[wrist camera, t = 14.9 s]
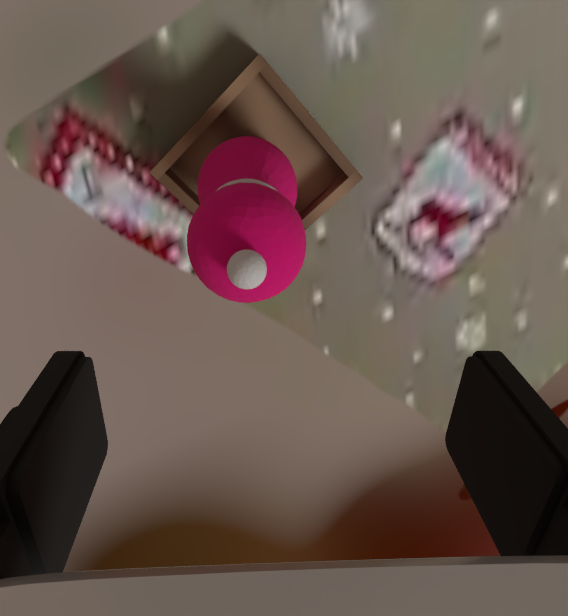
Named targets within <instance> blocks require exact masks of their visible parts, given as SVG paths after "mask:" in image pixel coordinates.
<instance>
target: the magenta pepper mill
mask: <svg viewBox="0 0 568 616" xmlns="http://www.w3.org/2000/svg"><path fill="white" fill-rule="evenodd" d="M198 197H199V202H200V205H199V207H198V208H197V210H196V211H195V213H194V214H193V217H192V219H191V222H190V225H189V228H188V234H187V247H188V255H189V259H190V262H191V264H192V267H193V269H194V271H195V273H196V274H197V276H198V277H199V279H200V280H201V281H202V282H203V283H204V285H206V287H207V288H209V289H210V290H211V291H213V292H214V293H216V294H217V295H219V296H221V297H223V298H225V299H228V300H231V301H236V302H245V303H251V302H257V301H262V300H265V299H269V298H271V297H273V296H275V295H277V294H279V293H280V292H282V291H283V290H285V289H286V288H287V287H288V286H289V285H290V284H291V283H292V281H293V280H294V279H295V278H296V276H297V275H298V273H299V271H300V269H301V267H302V265H303V261H304V258H305V251H306V234H305V229H304V226H303V223H302V220H301V217H300V215H299V214H298V212H297V210H296V209H295V208H294V207H295V204H296V199H297V181H296V175H295V172H294V169H293V167H292V165H291V163H290V161H289V159H288V158H287V157H286V155H285V154H284V153H283V152H282V151H281V150H280V149H279V148H278V147H276V146H275V145H273V144H272V143H270V142H268V141H266V140H264V139H260V138H257V137H252V136H241V137H236V138H233V139H229V140H227V141H225V142H223V143H221V144H220V145H218V146H217V147H215V148H214V149H213V150H212V151H211V152H210V153H209V155H208V156H207V158H206V159H205V160H204V162H203V164H202V167H201V169H200V173H199V177H198Z"/></svg>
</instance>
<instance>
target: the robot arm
mask: <svg viewBox="0 0 568 616" xmlns="http://www.w3.org/2000/svg"><path fill="white" fill-rule="evenodd" d="M445 441H446V447H447V449H448V452H449V454H450V456H451V458H452V460H453V462H454V464H455V466H456V468H457V469H458V472H459V474H460V476H461V478H462V480H463V482H464V484H465V486H466V488H467V490H468V492H469V494H470V496H471V498H472V500H473V502H474V504H475V505H476V507H477V509H478V511H479V513H480V515H481V517H482V519H483V521H484V523H485V525H486V527H487V529H488V531H489V533H490V535H491V537H492V539H493V541H494V543H495V545H496V547H497V549H498V551H499V553H500V555H501V556H486V557H450V558H416V559H415V558H414V559H381V560H380V559H379V560H349V561H319V562H293V563H291V562H290V563H262V564H235V565H211V566H184V567H159V568H134V569H116V570H98V571H80V572H64V573H63V569H64V567H65V564H66V562H67V559H68V556H69V553H70V551H71V548H72V546H73V543H74V540H75V537H76V534H77V532H78V529H79V527H80V524H81V521H82V519H83V516H84V513H85V511H86V508H87V505H88V503H89V500H90V497H91V494H92V492H93V489H94V486H95V484H96V481H97V478H98V476H99V473H100V470H101V468H102V465H103V462H104V460H105V457H106V454H107V448H108V440H107V435H106V429H105V424H104V419H103V413H102V408H101V403H100V398H99V392H98V387H97V382H96V377H95V371H94V366H93V361H92V359H91V358H90V357H85V355H84V353H83V352H81V351H57V352H55V353H54V354H53V356H52V357H51V359H50V360H49V362H48V363H47V365H46V366H45V368H44V369H43V370H42V372H41V373H40V375H39V376H38V378H37V379H36V381H35V382H34V384H33V385H32V387H31V388H30V389H29V391H28V392H27V394H26V395H25V397H24V398H23V400H22V401H21V403H20V404H19V406H17V407H15V408H13V409H12V410H11V411H10V412H9V413H8V414H7V415H6V417H5V418H4V420H3V421H2V423H1V424H0V616H568V429H567V427H566V426H565V425H564V424H563V423H562V421H561V420H560V419H559V418H558V417H557V416H556V415H555V413H554V412H553V411H552V410H551V409H550V408H549V406H548V405H547V404H546V403H545V402H544V401H543V400H542V399H541V397H540V396H539V395H538V394H537V392H536V391H535V390H534V389H533V388H532V387H531V386H530V384H529V383H528V382H527V381H526V380H525V379H524V377H523V376H522V375H521V374H520V373H519V372H518V370H517V369H516V368H515V367H514V366H513V365H512V364H511V362H510V361H509V360H508V359H507V358H506V357H505V355H504V354H503V353H502V352H500V351H476V352H475V353H474V354H473V356H472V357H468V358H467V360H466V362H465V366H464V370H463V373H462V377H461V381H460V384H459V388H458V392H457V395H456V399H455V403H454V407H453V410H452V414H451V418H450V421H449V425H448V429H447V432H446V438H445Z"/></svg>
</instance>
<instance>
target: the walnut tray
mask: <svg viewBox="0 0 568 616" xmlns="http://www.w3.org/2000/svg"><path fill="white" fill-rule="evenodd" d="M241 136H252V137H257V138H260V139H264V140H266V141H268V142H270V143H272V144H273V145H275V146H276V147H278V148H279V149H280V150H281V151H282V152H283V153H284V154H285V155H286V157H287V158H288V159H289V161H290V163H291V165H292V167H293V169H294V172H295V175H296V181H297V199H296V204H295V207H294V208H295V209H296V210H297V212H298V214H299V215H300V217H301V220H302V223H303V226H304V229H305V230H306V229H307V228H308V227H309V226H310V225H311V224H312V223H314V222H315V221H316V220H317V219H318V218H319V217H320V216H321V215H322V214H324V213H325V212H326V211H327V210H328V209H329V208H330V207H331V206H332V205H334V204H335V203H336V202H337V201H338V200H339V199H340V198H341V197H342V196H344V195H345V194H346V193H347V192H348V191H349V190H350V189H351V188H352V187H354V186H355V185H356V184H357V183H358V182H359V181H360V180H361V179H362V178H363V177H362V176H361V175H360V174H359V172H358V171H357V170H356V169H355V168H354V166H353V165H352V164H351V163H350V162H349V160H348V159H347V158H346V157H345V156H344V154H343V153H342V152H341V151H340V150H339V148H338V147H337V146H336V145H335V144H334V142H333V141H332V140H331V139H330V138H329V136H328V135H327V134H326V133H325V131H324V130H323V129H322V128H321V127H320V125H319V124H318V123H317V122H316V121H315V119H314V118H313V117H312V116H311V115H310V113H309V112H308V111H307V110H306V109H305V107H304V106H303V105H302V104H301V103H300V101H299V100H298V99H297V98H296V97H295V95H294V94H293V93H292V92H291V91H290V89H289V88H288V87H287V86H286V85H285V83H284V82H283V81H282V80H281V79H280V77H279V76H278V75H277V74H276V73H275V71H274V70H273V69H272V68H271V66H270V65H269V64H268V63H267V62H266V60H265V59H264V58H263V57H262V56H261V54H259V55H258V56H257V57H256V58H255V59H254V60H253V61H252V62H251V63H250V64H249V65H248V67H247V68H246V69H245V70H244V71H243V72H242V73H241V74H240V75H239V76H238V77H237V78H236V79H235V81H234V82H233V83H232V84H231V85H230V86H229V87H228V88H227V89H226V90H225V91H224V92H223V94H222V95H221V96H220V97H219V98H218V99H217V100H216V101H215V102H214V103H213V104H212V105H211V106H210V108H209V109H208V110H207V111H206V112H205V113H204V114H203V115H202V116H201V117H200V118H199V119H198V121H197V122H196V123H195V124H194V125H193V126H192V127H191V128H190V129H189V130H188V131H187V132H186V133H185V135H184V136H183V137H182V138H181V139H180V140H179V141H178V142H177V143H176V144H175V145H174V146H173V148H172V149H171V150H170V151H169V152H168V153H167V154H166V155H165V156H164V157H163V158H162V159H161V160H160V162H159V163H158V164H157V165H156V166H155V167H154V168H153V169H152V170H151V171H150V172H149V173H150V174H151V175H153V176H154V177H155V178H156V179H157V180H158V181H159V182H160V183H161V184H162V185H163V186H164V187H165V188H166V189H167V190H169V191H170V192H171V193H172V194H173V195H174V196H175V197H176V198H177V199H178V200H179V201H180V202H181V203H182V204H183V205H185V206H186V207H187V208H188V209H189V210H190V211H191V212H192V213H193V214H194V213H195V211H196V210H197V208H198V207H199V205H200V202H199V197H198V177H199V173H200V169H201V167H202V164H203V162H204V160H205V159H206V158H207V156H208V155H209V153H210V152H211V151H212V150H213V149H214V148H215V147H217V146H218V145H220V144H221V143H223V142H225V141H227V140H229V139H233V138H236V137H241Z"/></svg>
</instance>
